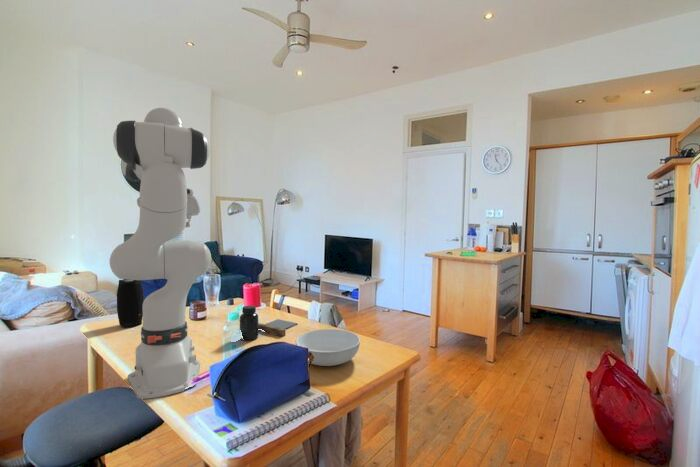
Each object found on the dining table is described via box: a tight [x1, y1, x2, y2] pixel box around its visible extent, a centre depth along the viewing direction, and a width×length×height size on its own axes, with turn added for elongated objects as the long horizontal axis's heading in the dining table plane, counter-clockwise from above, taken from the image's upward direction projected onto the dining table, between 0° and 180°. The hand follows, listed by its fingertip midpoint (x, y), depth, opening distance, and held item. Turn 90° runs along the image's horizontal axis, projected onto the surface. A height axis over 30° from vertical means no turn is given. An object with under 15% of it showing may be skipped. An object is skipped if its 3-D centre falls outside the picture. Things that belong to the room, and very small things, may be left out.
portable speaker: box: [116, 279, 145, 329], centre depth 143 cm, size 9×9×20 cm
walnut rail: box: [258, 322, 286, 338], centre depth 137 cm, size 20×2×2 cm, turn 60°
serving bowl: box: [295, 328, 361, 367], centre depth 111 cm, size 21×21×7 cm
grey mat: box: [264, 318, 298, 331], centre depth 145 cm, size 11×11×1 cm
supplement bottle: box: [239, 305, 259, 342], centre depth 130 cm, size 7×7×12 cm
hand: (174, 228), depth 129 cm, fingers open, 8 cm apart
